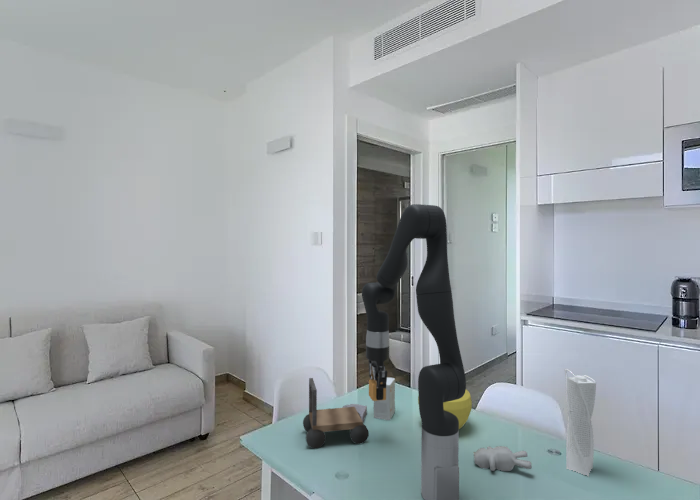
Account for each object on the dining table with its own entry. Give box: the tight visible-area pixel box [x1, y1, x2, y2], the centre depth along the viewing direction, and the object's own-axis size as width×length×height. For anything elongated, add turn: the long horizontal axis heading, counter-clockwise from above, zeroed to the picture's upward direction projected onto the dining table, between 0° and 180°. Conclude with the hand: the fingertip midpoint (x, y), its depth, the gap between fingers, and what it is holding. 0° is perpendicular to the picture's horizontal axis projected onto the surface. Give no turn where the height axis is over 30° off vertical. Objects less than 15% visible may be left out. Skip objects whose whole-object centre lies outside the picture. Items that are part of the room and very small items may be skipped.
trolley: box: [302, 377, 370, 449], centre depth 129 cm, size 20×12×18 cm, turn 102°
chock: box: [368, 379, 386, 402], centre depth 127 cm, size 5×4×5 cm
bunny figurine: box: [473, 445, 533, 472], centre depth 113 cm, size 10×5×15 cm
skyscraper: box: [564, 368, 597, 478], centre depth 112 cm, size 8×8×28 cm
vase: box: [417, 388, 473, 430], centre depth 137 cm, size 18×18×30 cm
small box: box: [373, 376, 396, 421], centre depth 147 cm, size 8×6×13 cm
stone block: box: [341, 403, 368, 423], centre depth 144 cm, size 12×5×10 cm
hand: (377, 395), depth 127 cm, fingers closed on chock, 5 cm apart
